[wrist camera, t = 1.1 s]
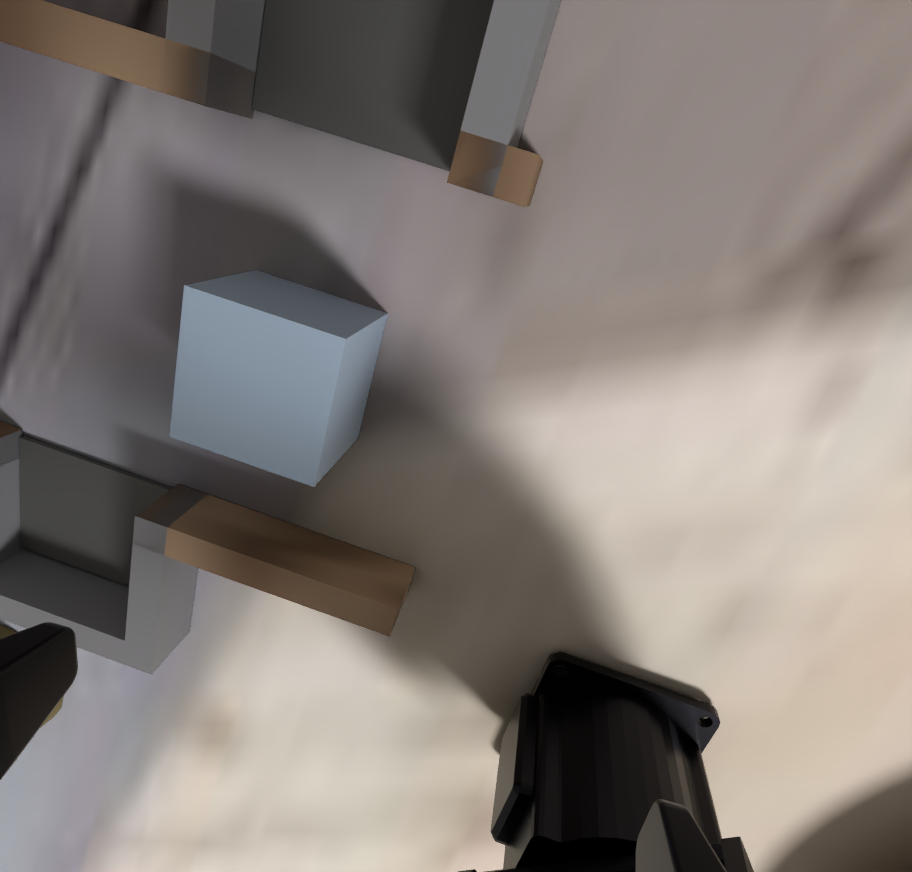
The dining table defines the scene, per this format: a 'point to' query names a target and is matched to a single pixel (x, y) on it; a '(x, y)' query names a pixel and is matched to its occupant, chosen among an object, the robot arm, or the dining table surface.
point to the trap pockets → (307, 103)
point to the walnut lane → (212, 519)
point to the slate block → (273, 373)
